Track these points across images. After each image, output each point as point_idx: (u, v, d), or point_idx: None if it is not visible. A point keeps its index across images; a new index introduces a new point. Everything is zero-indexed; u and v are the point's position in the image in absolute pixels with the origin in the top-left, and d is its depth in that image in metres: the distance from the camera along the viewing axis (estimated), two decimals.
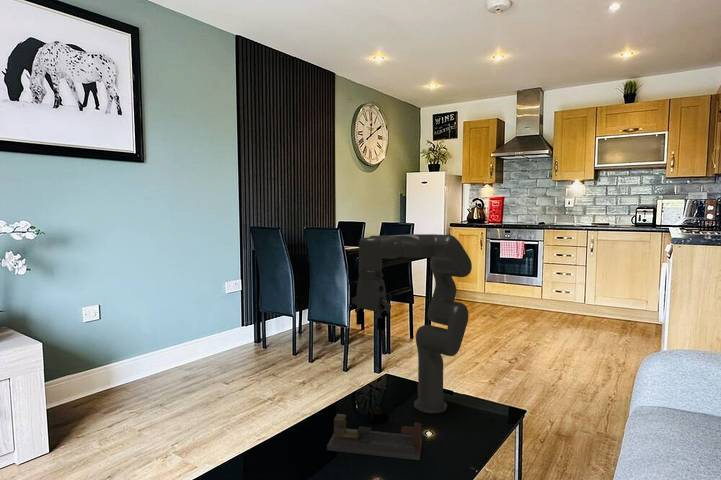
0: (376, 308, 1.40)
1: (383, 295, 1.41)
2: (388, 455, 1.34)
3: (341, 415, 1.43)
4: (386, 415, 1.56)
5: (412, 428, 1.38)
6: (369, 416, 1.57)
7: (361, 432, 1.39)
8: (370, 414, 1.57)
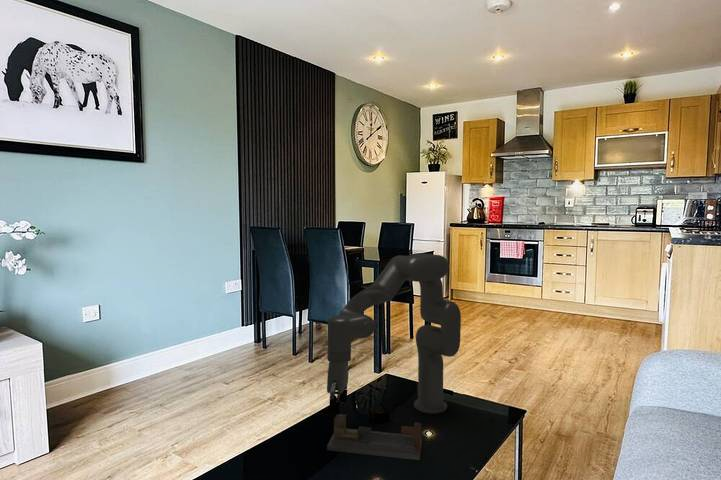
0: None
1: None
2: (388, 455, 1.34)
3: (341, 415, 1.43)
4: (388, 415, 1.57)
5: (412, 428, 1.38)
6: (371, 416, 1.57)
7: (361, 432, 1.39)
8: (372, 414, 1.57)
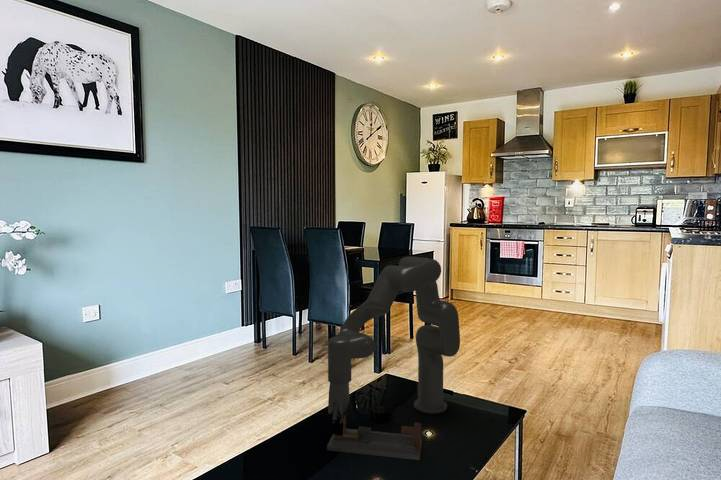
0: None
1: None
2: (388, 455, 1.34)
3: None
4: (389, 414, 1.57)
5: (412, 428, 1.38)
6: (372, 415, 1.58)
7: (361, 432, 1.39)
8: (373, 413, 1.57)
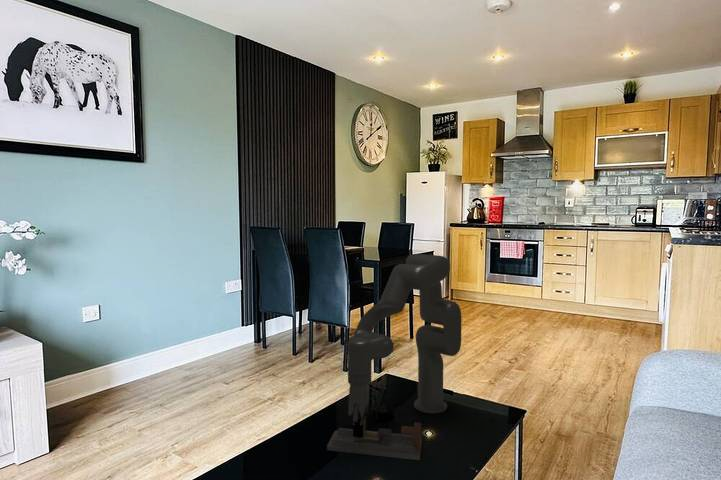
0: None
1: None
2: (388, 455, 1.34)
3: None
4: (391, 414, 1.57)
5: (412, 428, 1.38)
6: (374, 415, 1.58)
7: (381, 434, 1.38)
8: (375, 413, 1.58)
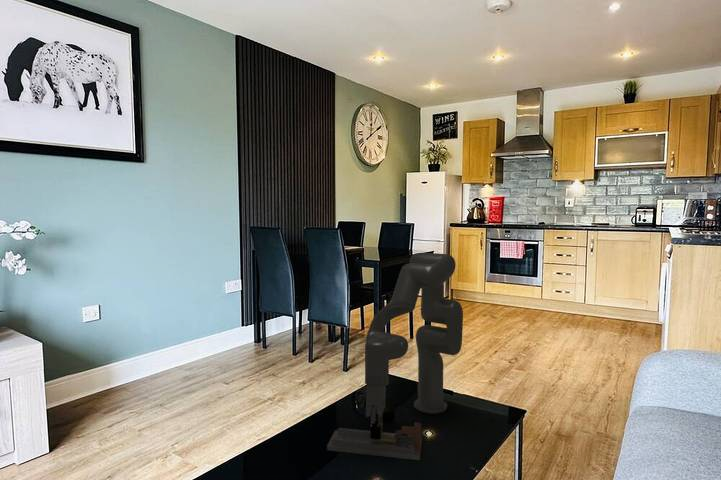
0: None
1: None
2: (388, 455, 1.34)
3: None
4: (392, 413, 1.58)
5: (412, 428, 1.38)
6: None
7: (399, 436, 1.37)
8: None
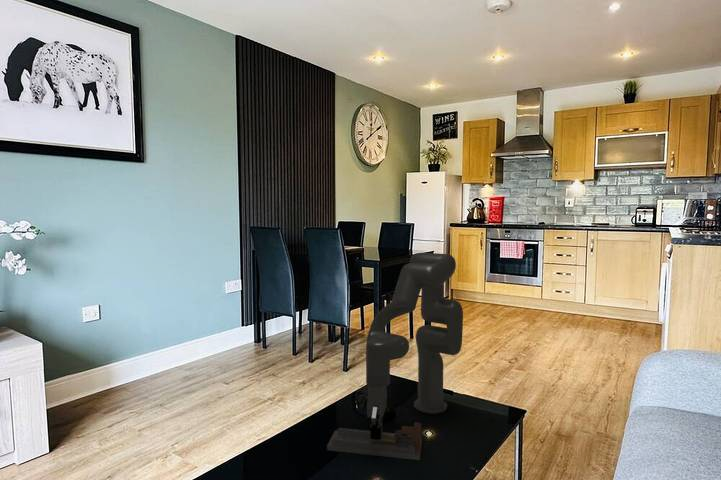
0: None
1: None
2: (388, 455, 1.34)
3: None
4: (393, 413, 1.58)
5: (412, 428, 1.38)
6: None
7: (399, 436, 1.37)
8: None
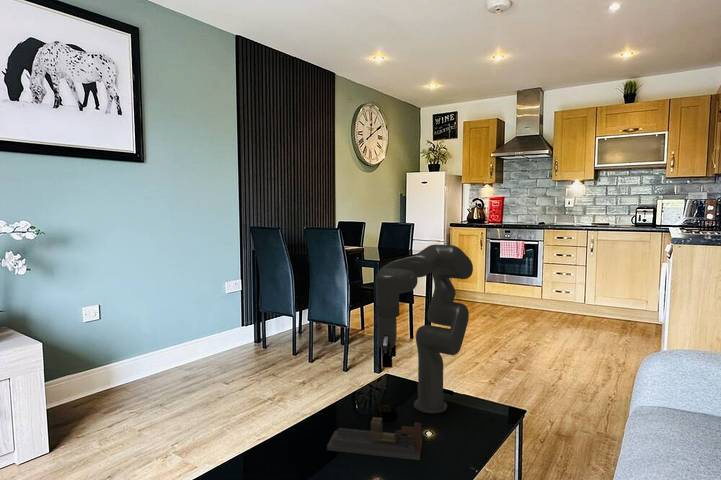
0: None
1: None
2: (388, 455, 1.34)
3: (377, 418, 1.41)
4: (395, 413, 1.58)
5: (412, 428, 1.38)
6: (378, 414, 1.59)
7: (399, 436, 1.37)
8: (379, 412, 1.58)
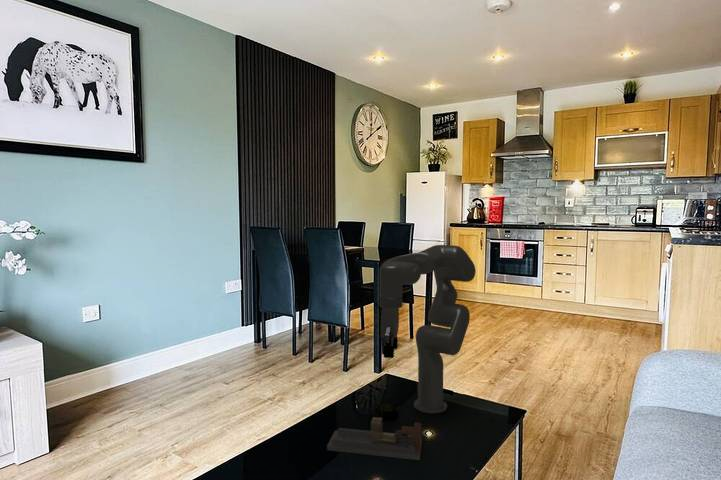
0: None
1: None
2: (388, 455, 1.34)
3: (377, 418, 1.41)
4: (396, 412, 1.58)
5: (412, 428, 1.38)
6: (379, 413, 1.59)
7: (399, 436, 1.37)
8: (380, 411, 1.59)
